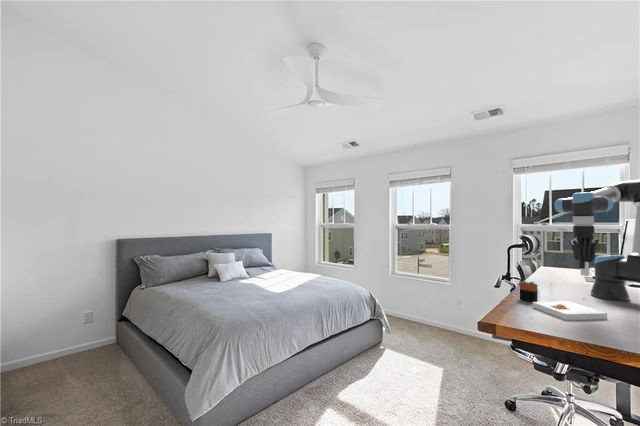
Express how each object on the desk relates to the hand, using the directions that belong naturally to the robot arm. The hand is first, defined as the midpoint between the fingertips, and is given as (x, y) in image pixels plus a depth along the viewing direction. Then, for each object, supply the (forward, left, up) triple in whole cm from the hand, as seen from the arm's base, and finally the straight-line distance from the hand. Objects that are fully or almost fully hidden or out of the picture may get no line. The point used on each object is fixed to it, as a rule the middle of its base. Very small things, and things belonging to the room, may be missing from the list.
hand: (584, 275), depth 139 cm
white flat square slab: (+11, +2, -17) cm, 20 cm away
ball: (+14, +2, -15) cm, 21 cm away
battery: (+14, -18, -17) cm, 28 cm away
